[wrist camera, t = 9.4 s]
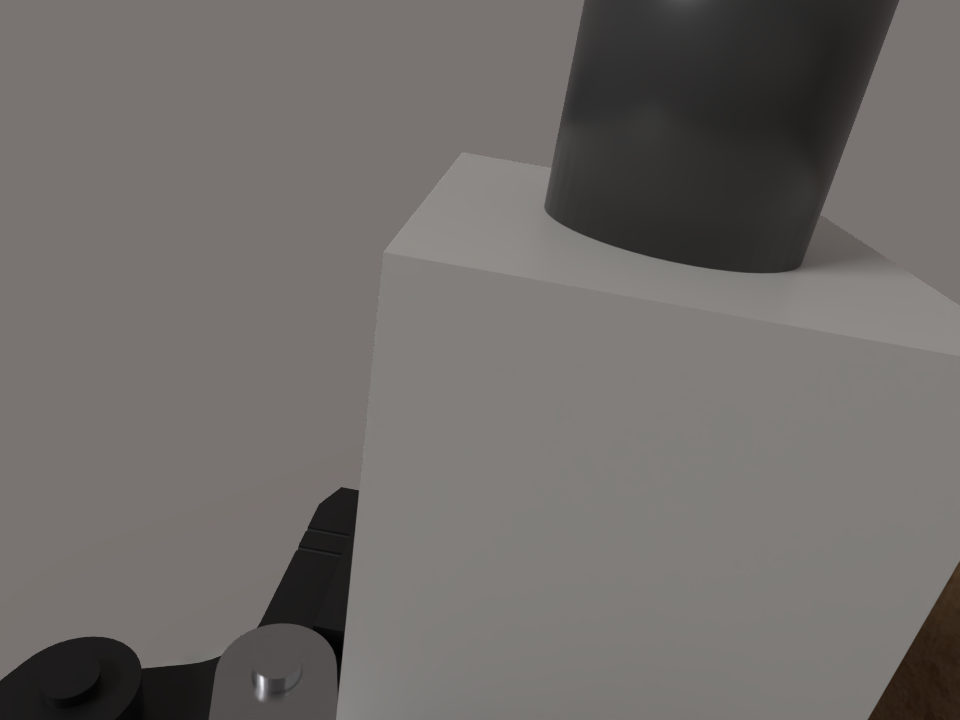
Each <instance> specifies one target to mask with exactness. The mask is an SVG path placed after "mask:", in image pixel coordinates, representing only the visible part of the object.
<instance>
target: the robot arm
mask: <svg viewBox="0 0 960 720" xmlns="http://www.w3.org/2000/svg"><path fill="white" fill-rule="evenodd" d="M358 498H359V490H353V489H348V488H343V487H341V488H340V489H339V490H337V491H336V492H335V493H333V494H332V495H331V496H329V497H328V498H327V499H325V500H324V501H323V502H322V503H320V504H319V506H318V508H317V510H316V512H315V514H314V516H313V518H312V520H311V522H310V524H309V526H308V530H307V531H306V532H305V534H304V536H303V538H302V540H301V542H300V544H299V547H298V550H297V551H296V552H295V554H294V556H293V558H292V560H291V562H290V564H289V566H288V568H287V570H286V572H285V574H284V576H283V578H282V580H281V582H280V584H279V586H278V588H277V590H276V592H275V594H274V596H273V598H272V600H271V602H270V604H269V606H268V608H267V610H266V612H265V615H264V616H263V618H262V621H261V622H260V624H259V626H258V627H257V628H256V629H253V630H251V631H249V632H247V633H245V634H244V635H242V636H240V637H239V638H238V639H236V640H235V641H234V642H233V643H232V644H231V645H230V646H229V647H228V648H227V649H226V650H225V652H224V653H223V654H222V656H219V657H217V658H214V659H211V660H208V661H204V662H200V663H194V664H186V665H176V666H165V667H155V668H144V669H141V665H140V661H139V659H138V657H137V655H136V654H135V652H134V651H133V650H132V649H131V648H130V647H128V646H126V645H125V644H124V643H122V642H119V641H117V640H114V639H110V638H105V637H82V638H76V639H71V640H67V641H64V642H60V643H58V644H55V645H53V646H50V647H48V648H46V649H44V650H42V651H40V652H38V653H37V654H35V655H34V656H32V657H31V658H29V659H28V660H27V661H25V662H24V663H22V664H21V665H20V666H18V667H17V668H16V669H15V670H13V671H12V672H11V673H9V674H8V675H7V676H6V677H4V678H3V679H2V680H1V681H0V720H336V715H337V705H338V695H339V685H340V676H341V666H342V656H343V646H344V636H345V626H346V616H347V606H348V597H349V587H350V577H351V567H352V557H353V547H354V537H355V527H356V518H357V508H358Z"/></svg>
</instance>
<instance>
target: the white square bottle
mask: <svg viewBox="0 0 960 720" xmlns="http://www.w3.org/2000/svg"><path fill="white" fill-rule="evenodd" d="M898 2H899V0H585V1H584V6H583V12H582V16H581V21H580V26H579V32H578V36H577V42H576V47H575V52H574V57H573V62H572V67H571V72H570V77H569V82H568V88H567V92H566V97H565V103H564V107H563V112H562V118H561V123H560V128H559V133H558V138H557V143H556V148H555V153H554V158H553V163H552V168H548V167H543V166H537V165H532V164H525V163H520V162H515V161H509V160H503V159H497V158H492V157H487V156H481V155H475V154H470V153H464V152H463V153H461V154H460V156H459V157H458V158H457V160H456V161H455V162H454V163H453V165H452V166H451V167H450V168H449V170H448V171H447V172H446V173H445V175H444V176H443V177H442V179H441V180H440V181H439V182H438V184H437V185H436V186H435V187H434V189H433V190H432V191H431V192H430V194H429V195H428V196H427V197H426V199H425V200H424V201H423V203H422V204H421V205H420V206H419V208H418V209H417V210H416V211H415V213H414V214H413V215H412V216H411V218H410V219H409V220H408V221H407V223H406V224H405V225H404V227H403V228H402V229H401V230H400V232H399V233H398V234H397V236H396V237H395V238H394V239H393V241H392V242H391V243H390V244H389V246H388V247H387V248H386V249H385V251H384V252H383V261H382V271H381V280H380V290H379V300H378V310H377V320H376V330H375V340H374V350H373V359H372V370H371V379H370V389H369V399H368V409H367V419H366V429H365V430H366V431H365V439H364V448H363V459H362V468H361V478H360V488H359V498H358V508H357V518H356V527H355V537H354V547H353V557H352V567H351V577H350V587H349V597H348V606H347V616H346V626H345V636H344V646H343V656H342V666H341V676H340V685H339V695H338V705H337V715H336V720H868V718H869V716H870V715H871V713H872V711H873V709H874V708H875V706H876V704H877V702H878V701H879V699H880V697H881V696H882V694H883V692H884V690H885V689H886V687H887V685H888V684H889V682H890V680H891V678H892V677H893V675H894V673H895V671H896V670H897V668H898V666H899V665H900V663H901V661H902V659H903V658H904V656H905V654H906V652H907V651H908V649H909V647H910V646H911V644H912V642H913V640H914V639H915V637H916V635H917V633H918V632H919V630H920V628H921V627H922V625H923V623H924V621H925V620H926V618H927V616H928V615H929V613H930V611H931V609H932V608H933V606H934V604H935V602H936V601H937V599H938V597H939V596H940V594H941V592H942V590H943V589H944V587H945V585H946V583H947V582H948V580H949V578H950V577H951V575H952V573H953V571H954V570H955V568H956V566H957V565H958V563H959V561H960V306H959V305H958V304H956V303H955V302H953V301H952V300H950V299H949V298H947V297H946V296H944V295H943V294H941V293H939V292H938V291H936V290H935V289H933V288H932V287H930V286H929V285H927V284H926V283H924V282H923V281H921V280H920V279H918V278H917V277H915V276H913V275H912V274H910V273H909V272H907V271H906V270H904V269H903V268H901V267H900V266H898V265H897V264H895V263H894V262H892V261H890V260H889V259H887V258H886V257H884V256H883V255H881V254H880V253H878V252H877V251H875V250H874V249H872V248H870V247H869V246H867V245H866V244H864V243H863V242H861V241H860V240H858V239H857V238H855V237H854V236H852V235H850V234H849V233H848V232H846V231H844V230H843V229H841V228H840V227H838V226H837V225H835V224H834V223H832V222H831V221H829V220H828V219H826V218H825V217H823V216H820V213H821V210H822V208H823V205H824V202H825V200H826V197H827V194H828V192H829V189H830V186H831V183H832V181H833V178H834V175H835V173H836V170H837V167H838V164H839V162H840V159H841V156H842V153H843V151H844V148H845V145H846V143H847V140H848V137H849V134H850V132H851V129H852V126H853V124H854V121H855V118H856V115H857V113H858V110H859V108H860V104H861V102H862V99H863V97H864V94H865V91H866V89H867V86H868V83H869V80H870V77H871V75H872V72H873V70H874V67H875V64H876V62H877V59H878V56H879V53H880V50H881V48H882V45H883V43H884V40H885V37H886V34H887V32H888V29H889V26H890V24H891V21H892V18H893V15H894V13H895V10H896V7H897V5H898Z"/></svg>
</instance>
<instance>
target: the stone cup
mask: <svg viewBox="0 0 960 720" xmlns="http://www.w3.org/2000/svg"><path fill="white" fill-rule="evenodd" d="M868 720H960V561H959V563H958V565H957V566H956V568H955V570H954V571H953V573H952V575H951V577H950V578H949V580H948V582H947V583H946V585H945V587H944V589H943V590H942V592H941V594H940V596H939V597H938V599H937V601H936V602H935V604H934V606H933V608H932V609H931V611H930V613H929V615H928V616H927V618H926V620H925V621H924V623H923V625H922V627H921V628H920V630H919V632H918V633H917V635H916V637H915V639H914V640H913V642H912V644H911V646H910V647H909V649H908V651H907V652H906V654H905V656H904V658H903V659H902V661H901V663H900V665H899V666H898V668H897V670H896V671H895V673H894V675H893V677H892V678H891V680H890V682H889V684H888V685H887V687H886V689H885V690H884V692H883V694H882V696H881V697H880V699H879V701H878V702H877V704H876V706H875V708H874V709H873V711H872V713H871V715H870V716H869V718H868Z"/></svg>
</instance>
